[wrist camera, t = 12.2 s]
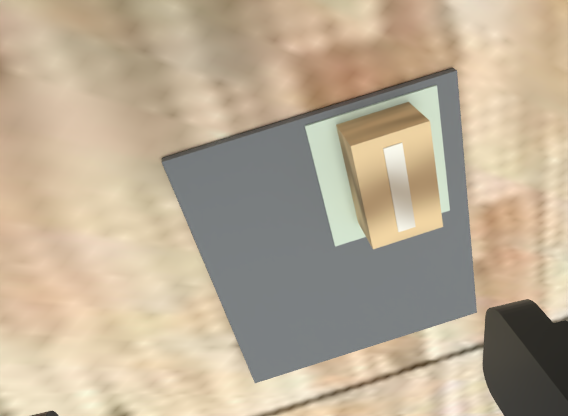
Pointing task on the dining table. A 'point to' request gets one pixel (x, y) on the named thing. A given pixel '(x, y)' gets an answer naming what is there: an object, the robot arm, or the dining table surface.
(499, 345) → the robot arm
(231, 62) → the dining table surface
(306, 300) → the rubber mat
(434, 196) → the oak block
